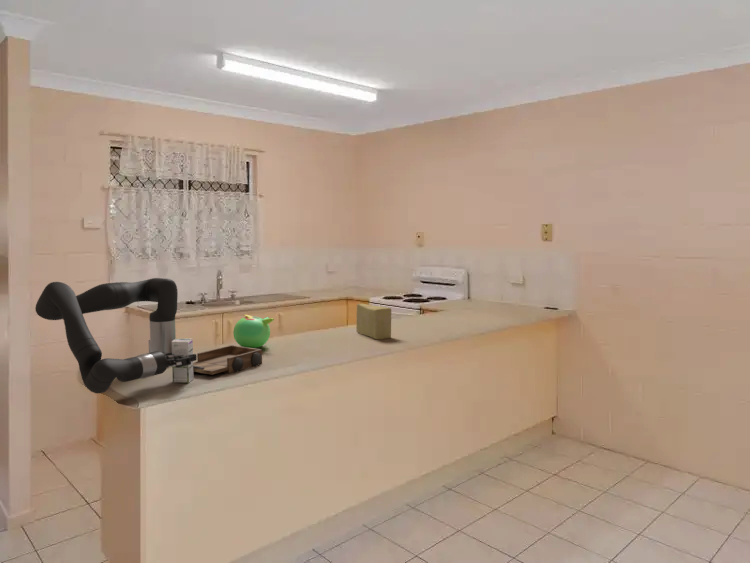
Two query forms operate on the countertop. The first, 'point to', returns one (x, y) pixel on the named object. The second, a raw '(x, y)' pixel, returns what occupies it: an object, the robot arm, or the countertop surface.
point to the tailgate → (208, 368)
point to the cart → (232, 357)
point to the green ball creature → (252, 331)
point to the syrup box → (178, 348)
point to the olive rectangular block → (373, 321)
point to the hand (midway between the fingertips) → (187, 355)
